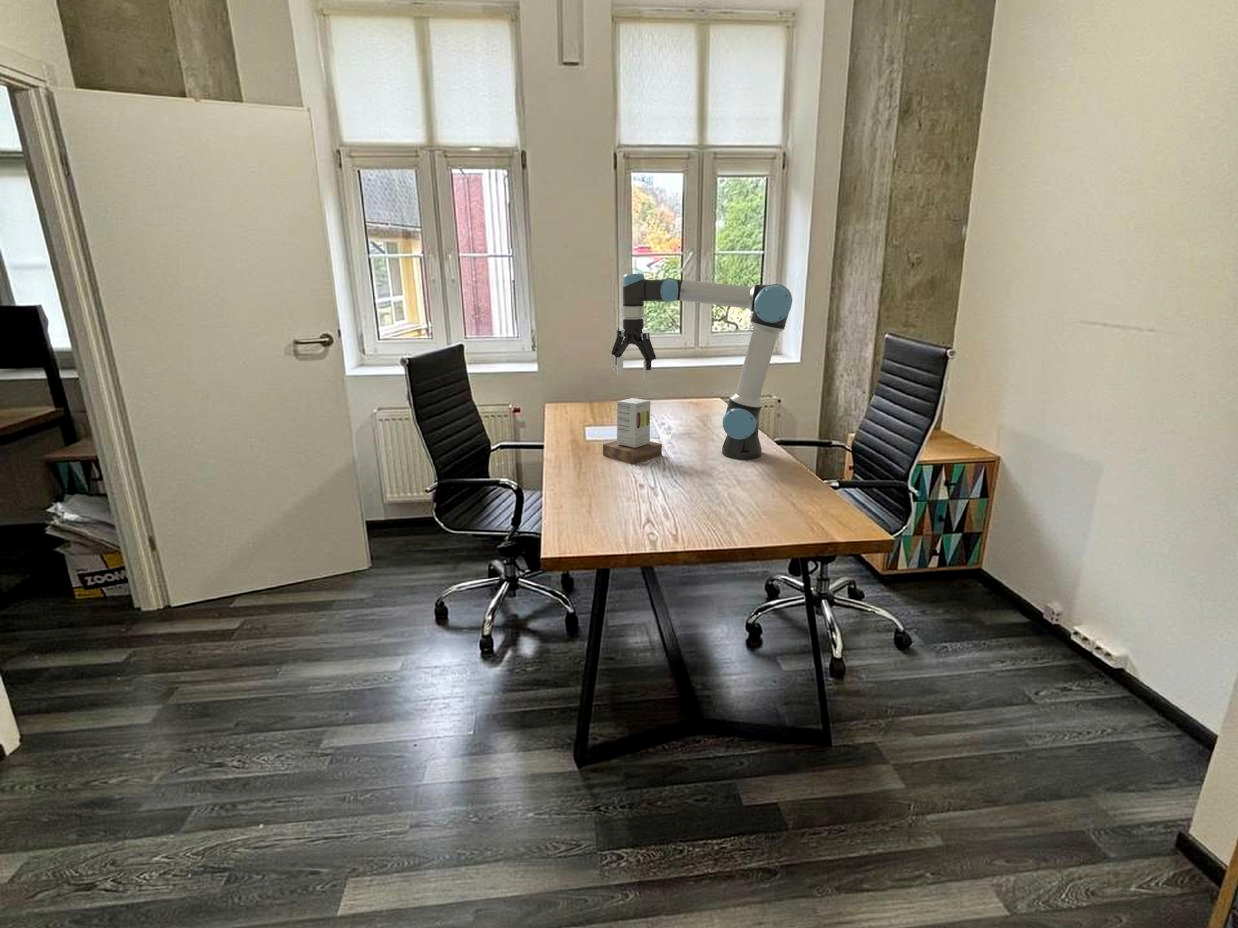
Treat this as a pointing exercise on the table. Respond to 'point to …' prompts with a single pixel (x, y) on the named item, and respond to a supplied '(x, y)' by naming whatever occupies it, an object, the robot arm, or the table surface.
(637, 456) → the walnut block
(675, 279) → the robot arm
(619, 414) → the supplement box
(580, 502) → the table surface
